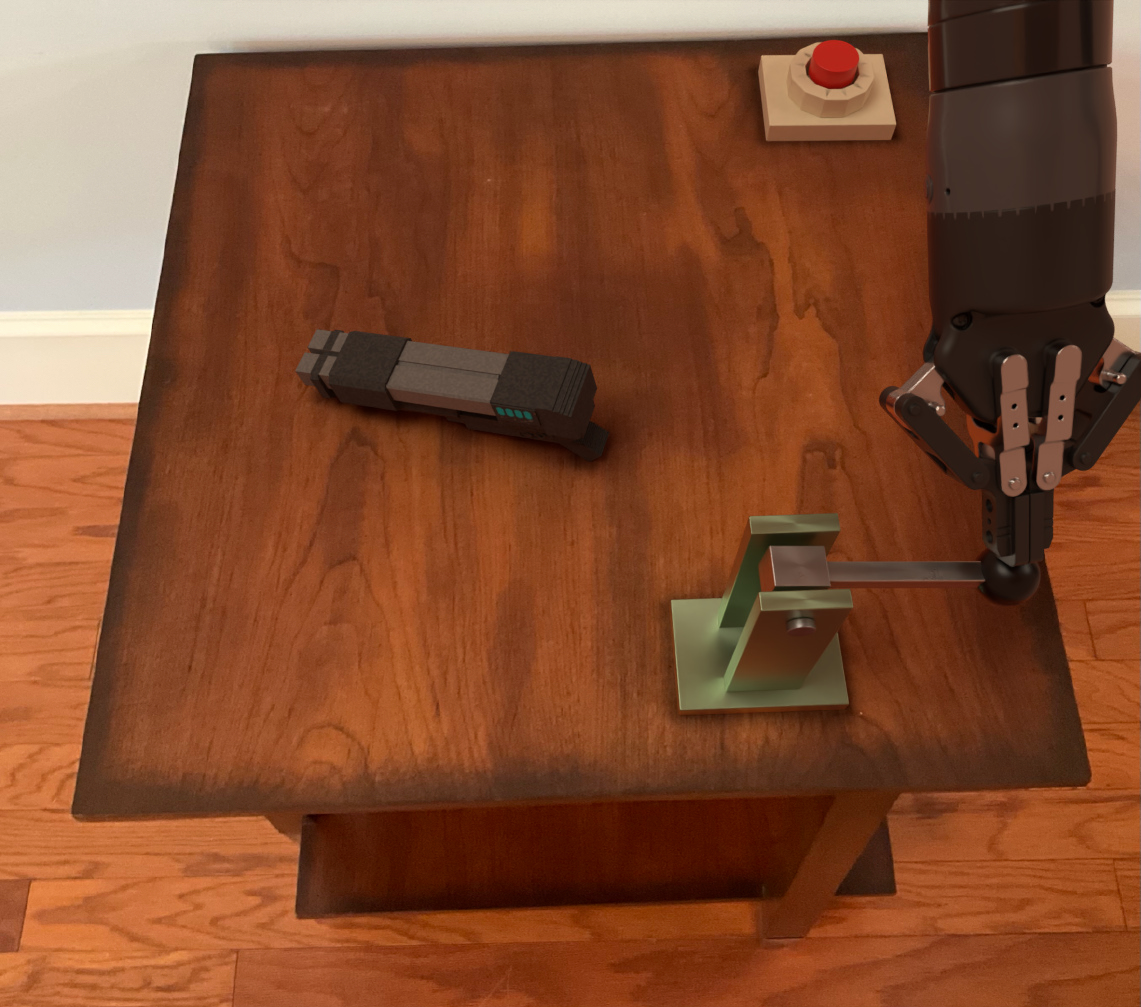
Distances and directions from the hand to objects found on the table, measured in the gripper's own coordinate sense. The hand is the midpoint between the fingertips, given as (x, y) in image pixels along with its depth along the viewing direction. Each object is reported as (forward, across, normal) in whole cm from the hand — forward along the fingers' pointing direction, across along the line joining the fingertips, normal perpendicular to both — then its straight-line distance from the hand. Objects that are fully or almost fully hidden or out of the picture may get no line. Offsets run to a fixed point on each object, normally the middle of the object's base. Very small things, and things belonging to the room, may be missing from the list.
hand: (1017, 558), depth 49 cm
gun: (-6, -26, +26) cm, 37 cm away
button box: (-22, +8, +42) cm, 49 cm away
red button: (-25, +8, +40) cm, 48 cm away
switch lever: (+2, -5, +3) cm, 6 cm away
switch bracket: (+9, -11, +11) cm, 18 cm away
